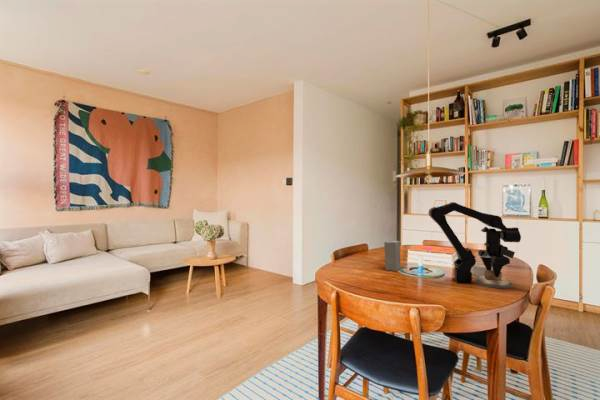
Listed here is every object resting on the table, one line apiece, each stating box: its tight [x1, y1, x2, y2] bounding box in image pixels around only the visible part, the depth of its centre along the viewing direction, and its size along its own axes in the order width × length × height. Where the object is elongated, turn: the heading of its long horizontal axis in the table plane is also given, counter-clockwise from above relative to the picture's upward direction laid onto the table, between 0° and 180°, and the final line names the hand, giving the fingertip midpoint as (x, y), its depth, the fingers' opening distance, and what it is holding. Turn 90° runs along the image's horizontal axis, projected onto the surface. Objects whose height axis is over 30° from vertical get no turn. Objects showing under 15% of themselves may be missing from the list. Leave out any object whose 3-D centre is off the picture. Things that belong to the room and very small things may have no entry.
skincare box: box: [383, 240, 402, 272], centre depth 169 cm, size 8×7×16 cm
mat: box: [474, 277, 513, 289], centre depth 141 cm, size 15×15×1 cm
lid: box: [476, 270, 511, 286], centre depth 141 cm, size 13×13×5 cm
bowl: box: [471, 261, 493, 277], centre depth 156 cm, size 11×11×5 cm
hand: (492, 274), depth 141 cm, fingers open, 8 cm apart
